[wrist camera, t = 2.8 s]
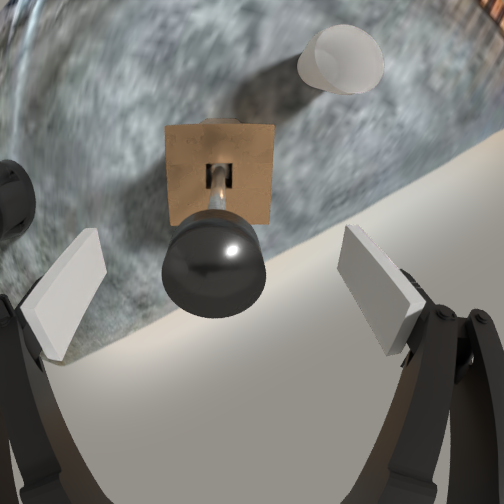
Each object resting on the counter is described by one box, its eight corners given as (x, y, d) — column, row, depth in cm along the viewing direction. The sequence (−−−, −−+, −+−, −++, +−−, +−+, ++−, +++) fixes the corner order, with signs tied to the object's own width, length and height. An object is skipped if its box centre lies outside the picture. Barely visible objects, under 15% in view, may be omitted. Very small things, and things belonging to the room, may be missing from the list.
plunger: (185, 203, 31) (144, 340, 13) (183, 136, 27) (111, 195, 10) (253, 202, 32) (292, 337, 14) (256, 135, 28) (314, 191, 10)
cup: (326, 107, 38) (362, 110, 27) (277, 74, 35) (297, 62, 24) (355, 65, 34) (397, 57, 24) (308, 31, 31) (337, 9, 21)
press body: (187, 202, 43) (172, 248, 30) (185, 119, 37) (164, 126, 24) (254, 201, 44) (267, 246, 31) (257, 118, 38) (274, 125, 25)
